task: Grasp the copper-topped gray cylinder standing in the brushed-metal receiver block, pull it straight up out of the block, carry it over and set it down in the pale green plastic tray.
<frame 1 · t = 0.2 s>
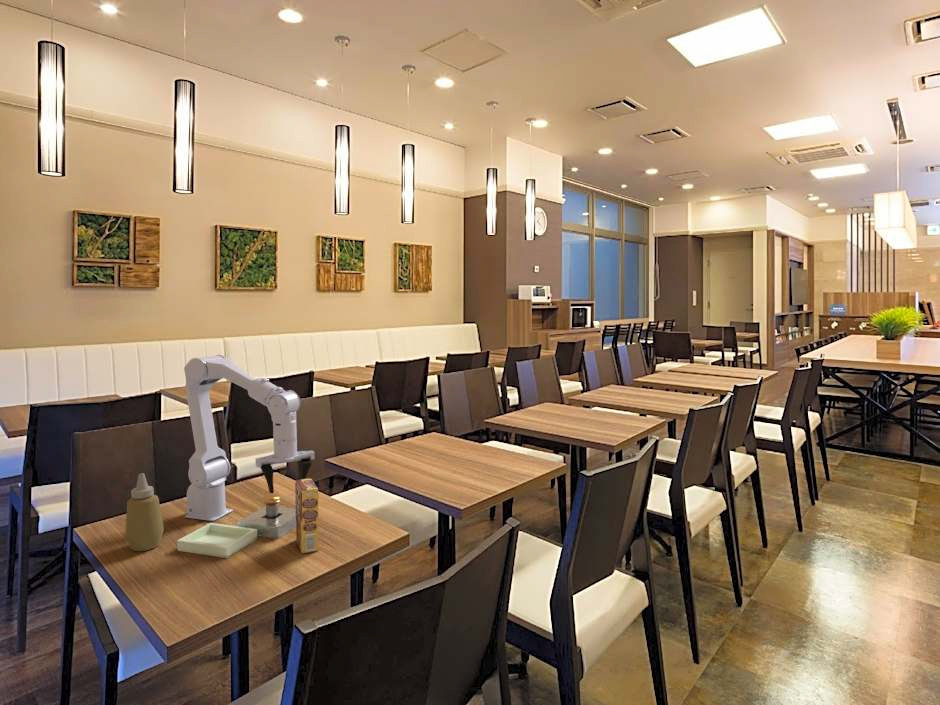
hand: (286, 489, 148), 10 cm above the table, fingers open, 7 cm apart
receiver block: (272, 526, 149), on the table
copper-topped gray cylinder: (272, 512, 148), in the receiver block
candy box: (307, 546, 138), on the table
squeeze bottle: (145, 547, 137), on the table
tray: (218, 544, 138), on the table
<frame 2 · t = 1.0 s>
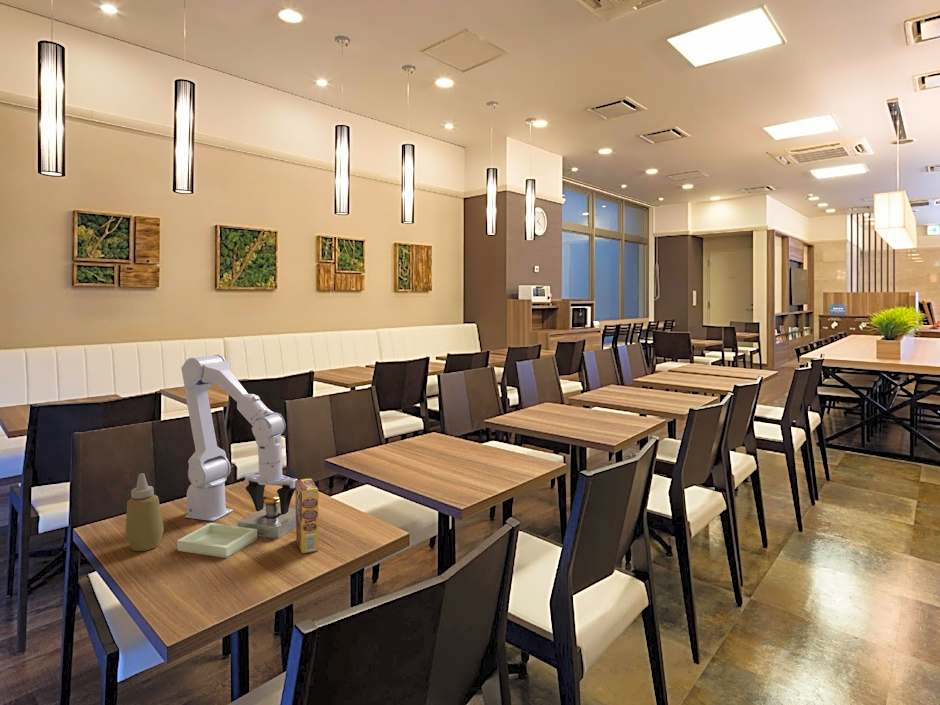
hand: (272, 511, 148), 4 cm above the table, fingers open, 7 cm apart
nothing on the table moved.
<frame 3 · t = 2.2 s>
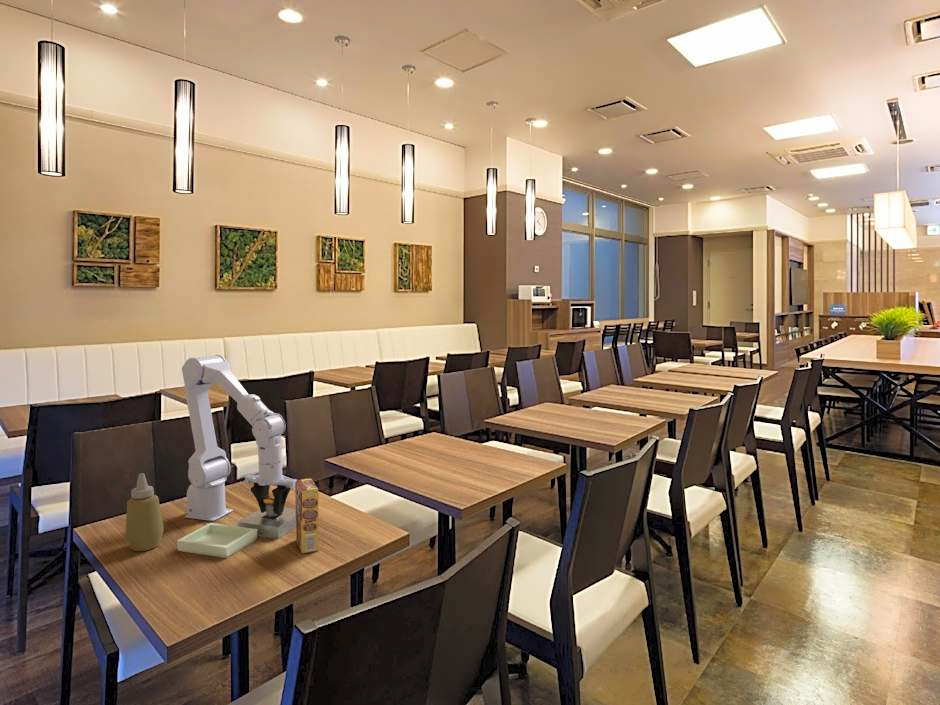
hand: (272, 512, 148), 4 cm above the table, fingers closed on copper-topped gray cylinder, 4 cm apart
copper-topped gray cylinder: (272, 511, 148), in the receiver block, touching gripper
everything else where it was.
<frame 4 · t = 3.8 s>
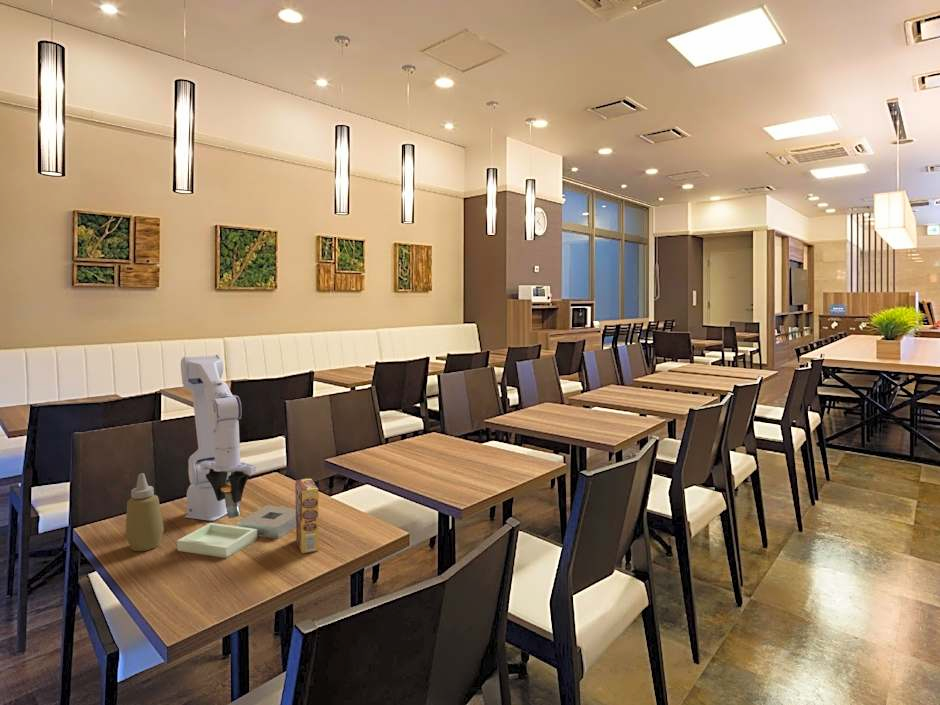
hand: (229, 500, 139), 10 cm above the table, fingers closed on copper-topped gray cylinder, 4 cm apart
copper-topped gray cylinder: (231, 500, 140), point 10 cm above the table, tilted 7°, touching gripper
everything else where it was.
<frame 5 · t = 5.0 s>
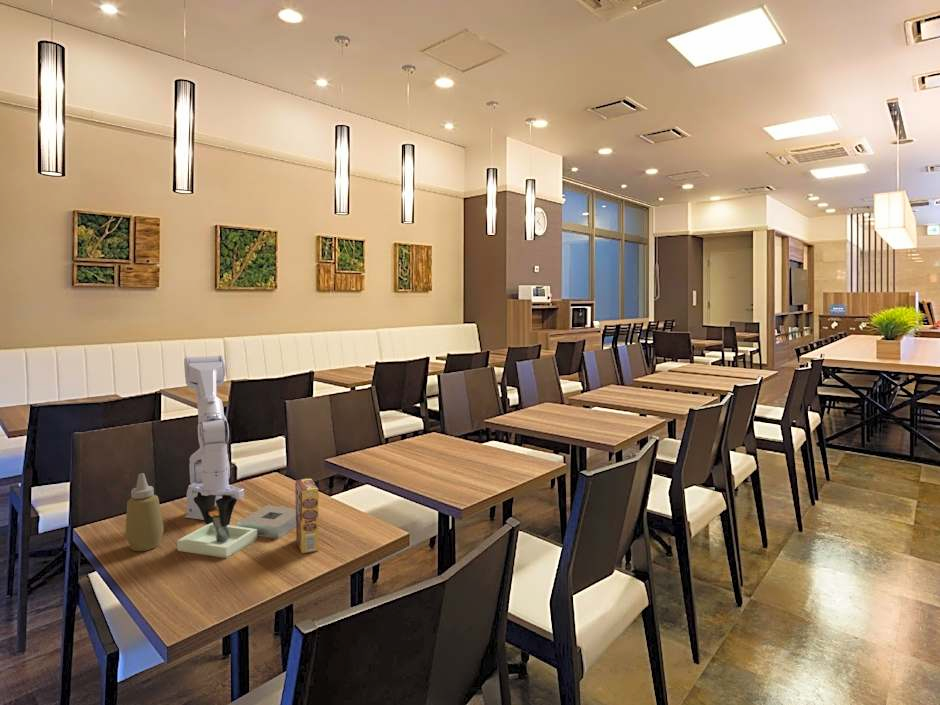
hand: (217, 524, 138), 5 cm above the table, fingers closed on copper-topped gray cylinder, 4 cm apart
copper-topped gray cylinder: (220, 523, 138), point 5 cm above the table, tilted 8°, touching gripper
everything else where it was.
when the fingers open (5 cm above the table, at t = 5.8 s): copper-topped gray cylinder stays where it is, resting on tray.
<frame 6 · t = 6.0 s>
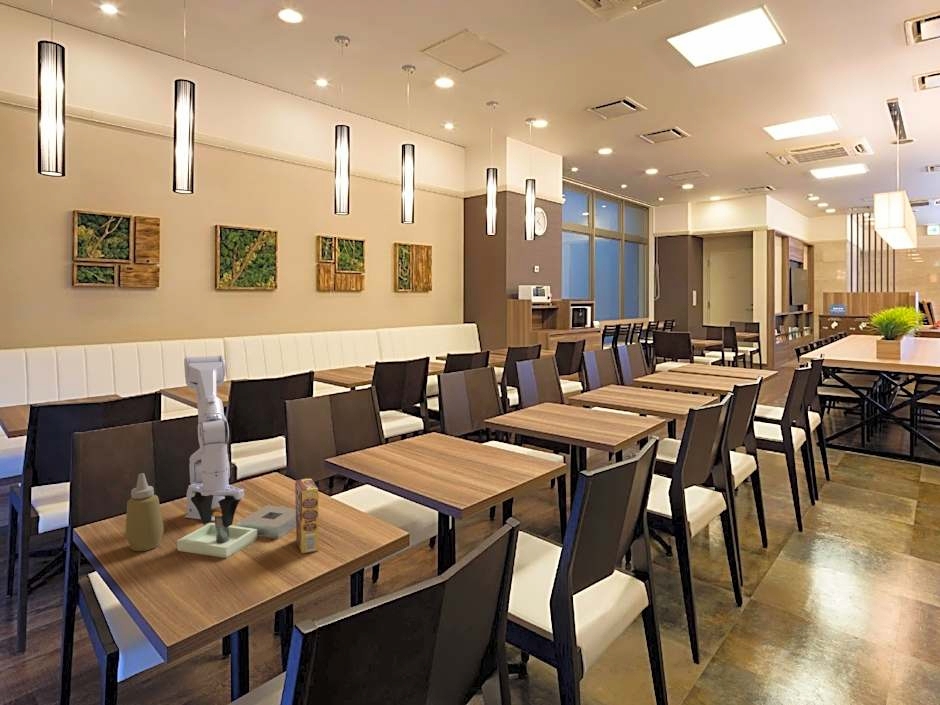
hand: (217, 524, 138), 5 cm above the table, fingers open, 6 cm apart
copper-topped gray cylinder: (221, 524, 138), in the tray, point 5 cm above the table
everything else where it was.
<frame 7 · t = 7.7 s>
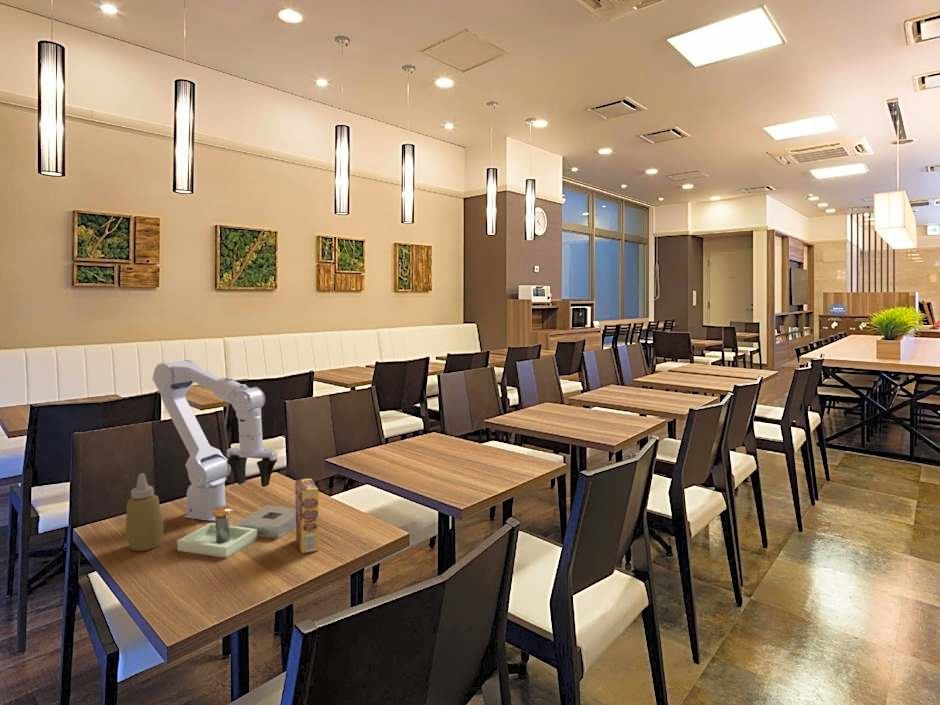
hand: (253, 484, 151), 10 cm above the table, fingers open, 7 cm apart
nothing on the table moved.
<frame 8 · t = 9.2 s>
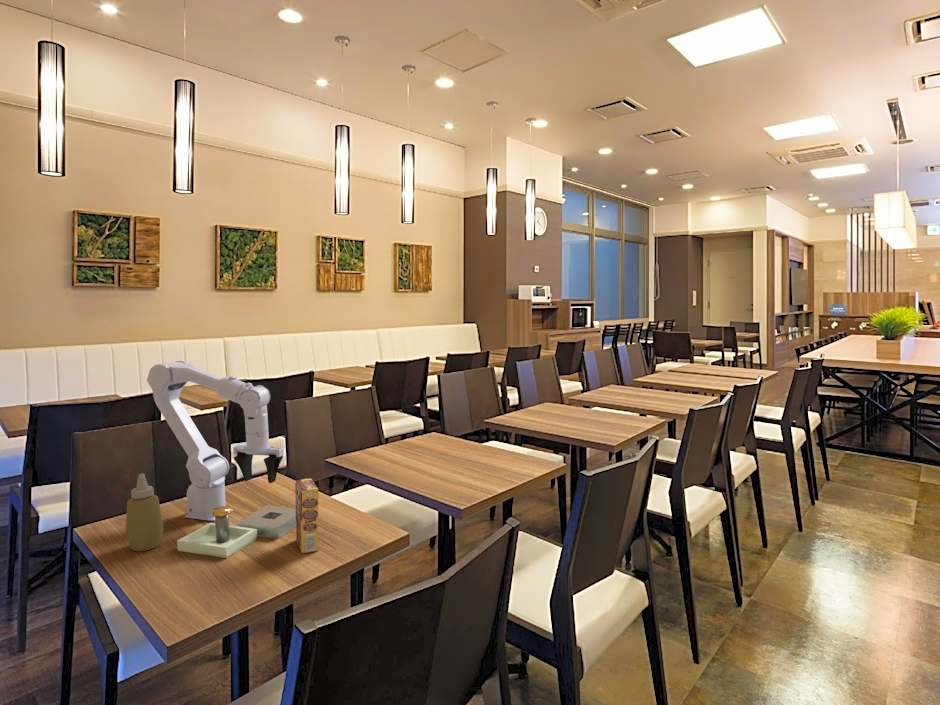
hand: (260, 480, 153), 10 cm above the table, fingers open, 7 cm apart
nothing on the table moved.
at the end: copper-topped gray cylinder inside the target area on the tray (1.1 cm from its centre), point 4.6 cm above the tray's base; copper-topped gray cylinder touching tray; the gripper is holding nothing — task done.
